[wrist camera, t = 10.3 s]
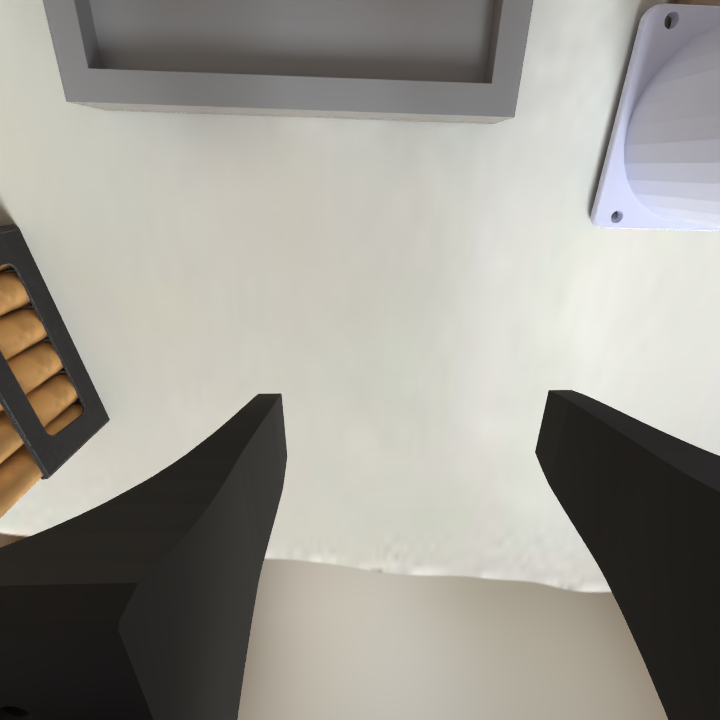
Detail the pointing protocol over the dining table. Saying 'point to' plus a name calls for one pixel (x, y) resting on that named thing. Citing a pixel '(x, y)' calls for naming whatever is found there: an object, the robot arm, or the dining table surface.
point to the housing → (294, 57)
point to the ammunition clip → (37, 378)
